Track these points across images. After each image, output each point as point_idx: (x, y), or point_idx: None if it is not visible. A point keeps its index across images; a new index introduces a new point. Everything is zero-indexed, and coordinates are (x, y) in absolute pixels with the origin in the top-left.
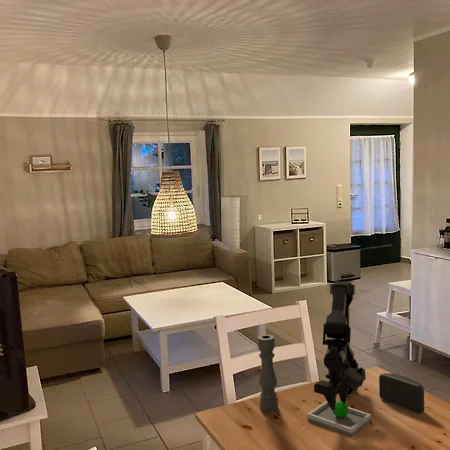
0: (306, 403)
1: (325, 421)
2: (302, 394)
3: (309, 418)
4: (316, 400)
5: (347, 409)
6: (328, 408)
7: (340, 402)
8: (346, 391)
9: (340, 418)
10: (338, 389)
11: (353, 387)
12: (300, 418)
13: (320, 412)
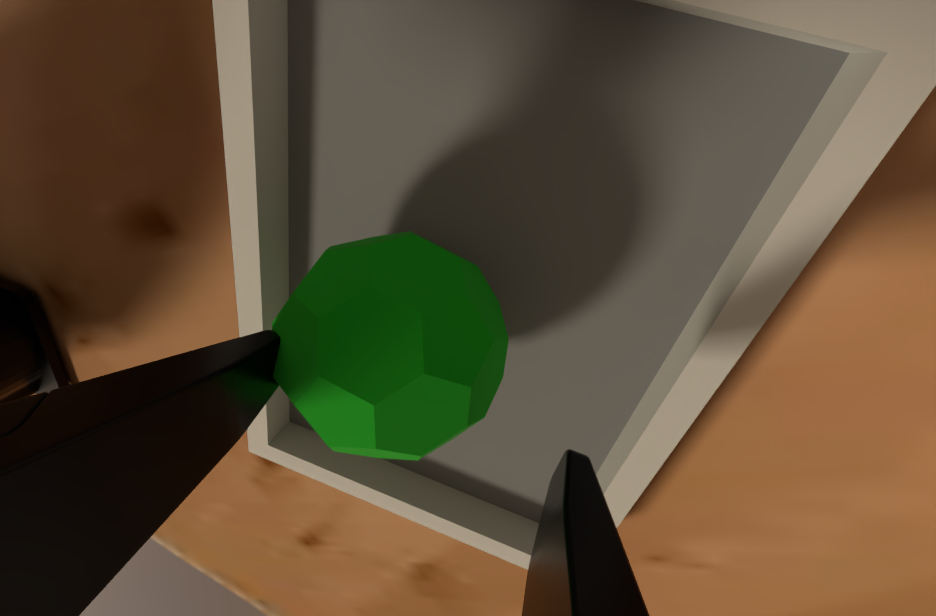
0: (334, 529)
1: (670, 443)
2: (250, 544)
3: None
4: (260, 479)
5: (378, 256)
6: None
7: (337, 414)
8: (16, 475)
9: None
10: (93, 590)
11: None
12: None
13: (441, 469)
